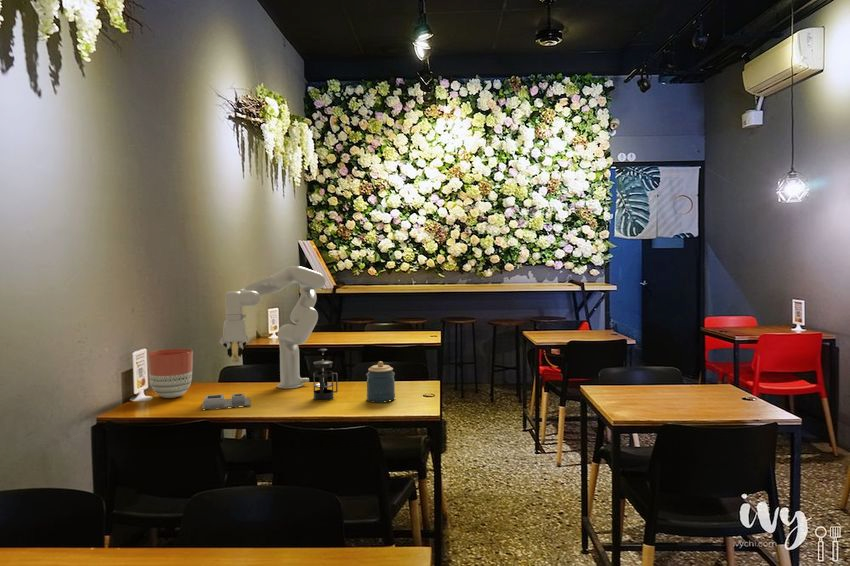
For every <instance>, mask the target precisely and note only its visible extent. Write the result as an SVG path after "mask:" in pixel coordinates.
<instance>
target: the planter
mask: <svg viewBox="0 0 850 566" xmlns="http://www.w3.org/2000/svg"><path fill="white" fill-rule="evenodd" d="M193 356H194V350H193V349H191V348H167V349H158V350H153V351H150V352H149V351H148V352H147V362H148V363H147V364H148V371H149V372H148V373H149V374H148V375H149V383H150V386H151V388H152V390H153V391H154V393H156V395H158V396H159V397H161V398H163V399H174V398H175V399H176V398H177V397H178V398H179V397H181V396H183V395H184V394H185V393H186V392H187V391H188V390H189V388H190V386H191V384H192V379H193V364H194V363H193V360H194V358H193Z"/></svg>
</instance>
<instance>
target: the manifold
mask: <svg viewBox="0 0 850 566" xmlns="http://www.w3.org/2000/svg"><path fill="white" fill-rule="evenodd" d="M245 396H246V395H245V393H232V394H231V398H225V394H224V393H223V394H210V395H209V394H208V395H205V396H204V399H203V401H202V405H201V411H202V410H203V409H216V408H228V407H239V406H250V407H251V397H245Z"/></svg>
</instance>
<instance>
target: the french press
mask: <svg viewBox="0 0 850 566" xmlns="http://www.w3.org/2000/svg"><path fill="white" fill-rule="evenodd" d="M318 351H319V352H321V354H325V352H326V351H328V349H327V348H320V349H318ZM312 363H313V364H314V365H313V366H314V368H315V369H320V371H315V372H313V373H312V375H313V378H312V379H313V397H312V398H313V400H314V401H316V400H328V401H331V400H330V399H332V400H334V399H333V398H335V397H334V393H337V392H338V387H339V386H338V373H337V372H333V371H330V370H324V369H329V368H332V367H333V363H334V361H331V360H317V361H313V362H312ZM334 375H335V390H334ZM330 377H331V383H330V382H328V378H330ZM315 378H319V380H318V382H319V383H315V382H316V381H315V380H316V379H315ZM317 388H318V389H317ZM328 388H332V389H328Z"/></svg>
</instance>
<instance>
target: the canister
mask: <svg viewBox="0 0 850 566" xmlns="http://www.w3.org/2000/svg"><path fill="white" fill-rule="evenodd" d="M393 370H394V368H393V367H391V366H390V365H389V364H384V362H383V361H381V360H380V361H378V362H377V364H374V365H372V366H370V367H369V368H368V372H367V373H366V374H365V375H366V377H367V380H366V399H367V401H368V400H369V401H368V402H370V401H374V402H373V403H376V402H383V403H385V402H384V401H389V400H393V399H394V398H396V391H395V390H396V389H395V388H396V387H395V386H396V381H395V380H396V379H395V375H396V373H395V372H394V371H393ZM394 400H395V399H394ZM394 400H393V401H394Z"/></svg>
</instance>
